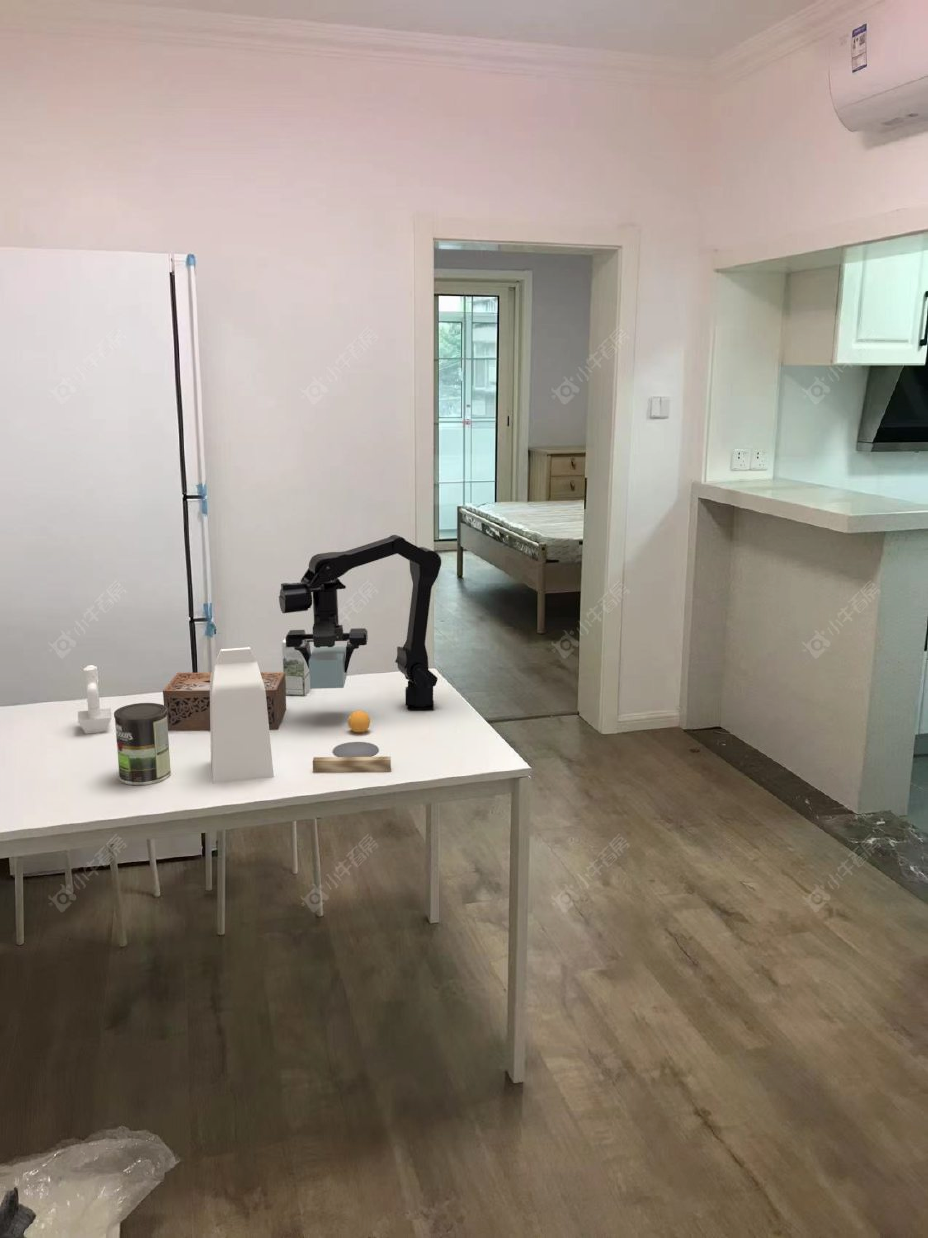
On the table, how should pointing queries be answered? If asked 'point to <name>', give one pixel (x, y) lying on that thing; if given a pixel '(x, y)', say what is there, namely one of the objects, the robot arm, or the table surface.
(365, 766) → the tan wooden bar
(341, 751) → the gray round object
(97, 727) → the figurine
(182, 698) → the tissue box cover
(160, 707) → the coffee can
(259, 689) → the milk
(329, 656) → the light blue rectangular box
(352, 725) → the ball
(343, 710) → the table surface
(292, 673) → the syrup box
